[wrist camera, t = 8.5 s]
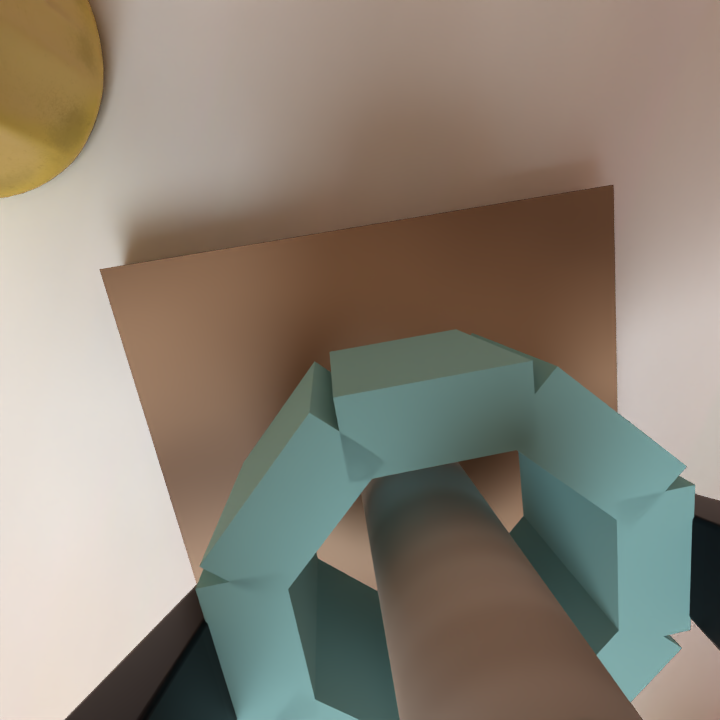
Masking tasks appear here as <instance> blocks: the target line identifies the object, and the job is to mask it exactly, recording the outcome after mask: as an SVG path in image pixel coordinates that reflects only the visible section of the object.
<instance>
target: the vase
mask: <svg viewBox="0 0 720 720" xmlns="http://www.w3.org/2000/svg"><path fill="white" fill-rule="evenodd" d="M102 93H103V57H102V50H101V44H100V38H99V33H98V29H97V25H96V22H95V18H94V15H93V12H92V9H91V6H90V4H89V1H88V0H0V198H4V197H10V196H13V195H17V194H21V193H25V192H27V191H30V190H32V189H35V188H37V187H39V186H41V185H43V184H45V183H46V182H48V181H50V180H51V179H53V178H54V177H56V176H57V175H58V174H60V173H61V172H62V171H63V170H64V169H66V168H67V167H68V166H69V165H70V164H71V163H72V162H73V161H74V160H75V158H76V157H77V156H78V155H79V153H80V152H81V150H82V148H83V147H84V145H85V143H86V141H87V140H88V137H89V135H90V133H91V131H92V129H93V126H94V123H95V121H96V118H97V115H98V111H99V107H100V104H101V98H102Z"/></svg>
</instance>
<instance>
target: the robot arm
mask: <svg viewBox="0 0 720 720" xmlns="http://www.w3.org/2000/svg"><path fill="white" fill-rule="evenodd" d="M196 586H197V585H196ZM196 586H195V587H194V588H193V589H192V590H191V591H190V592H189V593H188V594H187V595H186V596H185V597H184V598H183V599H182V600H181V601H180V602H179V603H178V604H177V605H176V606H175V607H174V608H173V609H172V610H171V611H170V612H169V613H168V614H167V615H166V616H165V617H164V618H163V619H162V620H161V622H160V623H159V624H158V625H157V626H156V627H155V628H154V629H153V630H152V631H151V632H150V633H149V634H148V635H147V636H146V637H145V638H144V639H143V640H142V641H141V642H140V643H139V644H138V645H137V646H136V647H135V648H134V649H133V650H132V651H131V652H130V653H129V654H128V655H127V656H126V657H125V658H124V659H123V660H122V661H121V662H120V663H119V664H118V666H117V667H116V668H115V669H114V670H113V671H112V672H111V673H110V674H109V675H108V676H107V677H106V678H105V679H104V680H103V681H102V682H101V683H100V684H99V685H98V686H97V687H96V688H95V689H94V690H93V691H92V692H91V693H90V694H89V695H88V696H87V697H86V698H85V699H84V700H83V701H82V702H81V703H80V704H79V705H78V706H77V707H76V708H75V710H74V711H73V712H72V713H71V714H70V715H69V716H68V717H67V718H66V719H65V720H237V717H236V713H235V710H234V707H233V704H232V700H231V697H230V694H229V691H228V687H227V684H226V681H225V678H224V675H223V671H222V668H221V665H220V662H219V658H218V655H217V652H216V649H215V645H214V642H213V639H212V636H211V632H210V629H209V626H208V623H207V622H205V619H204V616H203V612H202V609H201V606H200V603H199V599H198V596H197V593H196V590H195V588H196ZM689 616H690V618H691V619H692V620H693V621H694V623H695V624H696V625H697V626H698V627H699V628H700V629H701V630H702V632H703V633H704V634H705V635H706V636H707V637H708V638H709V639H710V640H711V641H712V642H713V643H714V645H715V646H716V647H717V648H718V649H719V650H720V501H719V500H715V499H712V498H708V497H704V496H700V495H697V494H695V504H694V518H693V520H692V545H691V577H690V610H689Z"/></svg>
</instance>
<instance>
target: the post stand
mask: <svg viewBox="0 0 720 720" xmlns="http://www.w3.org/2000/svg"><path fill="white" fill-rule="evenodd" d="M100 272H101V275H102V279H103V282H104V285H105V288H106V292H107V295H108V298H109V301H110V305H111V308H112V311H113V314H114V317H115V321H116V324H117V327H118V330H119V334H120V337H121V340H122V343H123V347H124V350H125V353H126V356H127V360H128V363H129V366H130V369H131V372H132V376H133V379H134V382H135V385H136V389H137V392H138V395H139V398H140V402H141V405H142V408H143V411H144V415H145V418H146V421H147V424H148V427H149V431H150V434H151V437H152V440H153V444H154V447H155V450H156V453H157V457H158V460H159V463H160V466H161V470H162V473H163V476H164V479H165V483H166V486H167V489H168V492H169V495H170V499H171V502H172V505H173V508H174V512H175V515H176V518H177V521H178V525H179V528H180V531H181V534H182V538H183V541H184V544H185V547H186V550H187V554H188V557H189V560H190V563H191V567H192V570H193V573H194V576H195V580H196V583H197V584H198V581H199V579H200V576H201V574H202V571H203V568H201V567H199V566H200V564H201V561H202V559H203V557H204V554H205V552H206V549H207V547H208V545H209V542H210V540H211V538H212V535H213V533H214V531H215V528H216V526H217V524H218V521H219V519H220V517H221V514H222V512H223V510H224V507H225V505H226V503H227V500H228V498H229V495H230V493H231V491H232V488H233V486H234V484H235V481H236V479H237V477H238V474H239V472H240V470H241V467H242V465H243V463H244V461H245V460H246V458H247V457H248V455H249V454H250V452H251V451H252V450H253V448H254V447H255V445H256V444H257V442H258V441H259V440H260V438H261V437H262V435H263V434H264V433H265V431H266V430H267V428H268V427H269V425H270V424H271V423H272V421H273V420H274V418H275V417H276V415H277V414H278V413H279V411H280V410H281V408H282V407H283V405H284V404H285V403H286V401H287V400H288V398H289V397H290V396H291V394H292V393H293V391H294V390H295V388H296V387H297V386H298V384H299V383H300V381H301V380H302V378H303V377H304V376H305V374H306V373H307V371H308V370H309V369H310V367H311V366H312V364H313V363H314V361H315V362H316V363H318V364H319V365H321V366H322V367H324V368H325V369H327V370H328V371H330V372H331V365H330V352H331V351H337V350H343V349H348V348H354V347H359V346H365V345H370V344H376V343H382V342H387V341H393V340H398V339H404V338H410V337H415V336H421V335H426V334H432V333H437V332H443V331H449V330H454V329H457V330H459V331H461V332H464V333H466V334H469V335H471V334H472V333H474V334H476V335H479V336H481V337H484V338H486V339H489V340H492V341H494V342H497V343H499V344H502V345H504V346H507V347H509V348H512V349H515V350H517V351H520V352H522V353H525V354H527V355H530V356H533V357H535V358H538V359H540V360H543V361H545V362H548V363H550V364H553V365H556V366H558V367H559V368H560V369H562V370H563V371H564V372H566V373H567V374H568V375H569V376H571V377H572V378H573V379H575V380H576V381H577V382H578V383H580V384H581V385H582V386H584V387H585V388H586V389H587V390H589V391H590V392H591V393H593V394H594V395H595V396H596V397H598V398H599V399H600V400H602V401H603V402H604V403H606V404H607V405H608V406H609V407H611V408H612V409H613V410H615V411H616V412H617V362H616V304H615V245H614V186H613V185H609V186H603V187H597V188H591V189H585V190H579V191H573V192H567V193H561V194H554V195H548V196H542V197H536V198H530V199H524V200H518V201H512V202H506V203H500V204H494V205H488V206H482V207H476V208H469V209H463V210H457V211H451V212H445V213H439V214H433V215H427V216H421V217H415V218H409V219H403V220H397V221H390V222H384V223H378V224H372V225H366V226H360V227H354V228H348V229H342V230H336V231H330V232H324V233H318V234H312V235H305V236H299V237H293V238H287V239H281V240H275V241H269V242H263V243H257V244H251V245H245V246H239V247H233V248H226V249H220V250H214V251H208V252H202V253H196V254H190V255H184V256H178V257H172V258H166V259H160V260H154V261H147V262H141V263H135V264H129V265H123V266H117V267H111V268H105V269H100ZM522 517H523V503H522V491H521V478H520V465H519V453H518V451H517V450H515V451H510V452H504V453H499V454H494V455H489V456H484V457H479V458H474V459H469V460H464V461H459V462H454V463H449V464H444V465H439V466H434V467H429V468H424V469H419V470H414V471H408V472H403V473H398V474H393V475H388V476H383V477H378V478H373V479H371V481H370V482H369V483H368V485H367V486H366V487H365V489H364V490H363V491H362V493H361V494H360V495H359V497H358V498H357V499H356V500H355V502H354V503H353V504H352V506H351V507H350V508H349V510H348V511H347V512H346V514H345V515H344V516H343V518H342V519H341V520H340V522H339V523H338V524H337V525H336V527H335V528H334V529H333V531H332V532H331V533H330V535H329V536H328V537H327V539H326V540H325V541H324V543H323V544H322V545H321V547H320V548H319V549H318V551H317V557H318V559H320V560H322V561H323V562H325V563H327V564H329V565H331V566H333V567H334V568H336V569H338V570H340V571H342V572H344V573H345V574H347V575H349V576H351V577H353V578H355V579H356V580H358V581H360V582H362V583H364V584H365V585H367V586H369V587H371V588H373V589H375V590H376V591H378V595H379V601H380V607H381V613H382V619H383V624H384V630H385V636H386V642H387V648H388V654H389V660H390V665H391V671H392V677H393V683H394V689H395V695H396V701H397V706H398V712H399V718H400V720H643V719H642V718H641V717H640V715H639V714H638V712H637V711H636V710H635V708H634V707H633V705H632V704H631V703H630V701H629V700H628V698H627V697H626V696H625V694H624V693H623V692H622V690H621V689H620V687H619V686H618V685H617V683H616V682H615V680H614V679H613V678H612V676H611V675H610V673H609V672H608V671H607V669H606V668H605V666H604V665H603V664H602V662H601V661H600V659H599V658H598V657H597V655H596V654H595V652H594V651H593V650H592V648H591V647H590V645H589V644H588V643H587V641H586V640H585V638H584V637H583V636H582V634H581V633H580V631H579V630H578V629H577V627H576V626H575V624H574V623H573V622H572V620H571V619H570V618H569V616H568V615H567V613H566V612H565V611H564V609H563V608H562V606H561V605H560V604H559V602H558V601H557V599H556V598H555V597H554V595H553V594H552V592H551V591H550V590H549V588H548V587H547V585H546V584H545V583H544V581H543V580H542V578H541V577H540V576H539V574H538V573H537V571H536V570H535V569H534V567H533V566H532V564H531V563H530V562H529V560H528V559H527V557H526V556H525V555H524V553H523V552H522V550H521V549H520V548H519V546H518V545H517V544H516V542H515V541H514V539H513V538H512V537H511V535H510V534H509V533H510V531H511V530H512V529H513V528H514V527H515V525H516V524H517V523H518V522H519V521H520V519H521V518H522Z"/></svg>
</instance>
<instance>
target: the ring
mask: <svg viewBox="0 0 720 720" xmlns="http://www.w3.org/2000/svg"><path fill="white" fill-rule="evenodd" d="M330 365H331V372H330V371H328V370H327V369H325V368H324V367H322V366H321V365H319V364H318V363H316V362H315V361H314V363H313V364H312V366H311V367H310V369H309V370H308V371H307V373H306V374H305V376H304V377H303V378H302V380H301V381H300V383H299V384H298V386H297V387H296V388H295V390H294V391H293V393H292V394H291V396H290V397H289V398H288V400H287V401H286V403H285V404H284V405H283V407H282V408H281V410H280V411H279V413H278V414H277V415H276V417H275V418H274V420H273V421H272V423H271V424H270V425H269V427H268V428H267V430H266V431H265V433H264V434H263V435H262V437H261V438H260V440H259V441H258V442H257V444H256V445H255V447H254V448H253V450H252V451H251V452H250V454H249V455H248V457H247V458H246V460H245V461H244V463H243V465H242V467H241V470H240V472H239V474H238V477H237V479H236V481H235V484H234V486H233V488H232V491H231V493H230V495H229V498H228V500H227V503H226V505H225V507H224V510H223V512H222V514H221V517H220V519H219V521H218V524H217V526H216V528H215V531H214V533H213V535H212V538H211V540H210V542H209V545H208V547H207V549H206V552H205V554H204V557H203V559H202V561H201V564H200V566H199V567H201V568H203V571H202V574H201V576H200V579H199V581H198V584H197V586H196V588H195V590H196V593H197V596H198V599H199V603H200V606H201V609H202V612H203V616H204V619H205V622H207V623H208V626H209V629H210V632H211V636H212V639H213V642H214V645H215V649H216V652H217V655H218V658H219V662H220V665H221V668H222V671H223V675H224V678H225V681H226V684H227V687H228V691H229V694H230V697H231V700H232V704H233V707H234V710H235V713H236V717H237V720H400V718H399V712H398V706H397V701H396V695H395V689H394V683H393V677H392V671H391V665H390V660H389V654H388V648H387V642H386V636H385V630H384V624H383V619H382V613H381V607H380V601H379V595H378V591H376V590H375V589H373V588H371V587H369V586H367V585H365V584H364V583H362V582H360V581H358V580H356V579H355V578H353V577H351V576H349V575H347V574H345V573H344V572H342V571H340V570H338V569H336V568H334V567H333V566H331V565H329V564H327V563H325V562H323V561H322V560H320V559H318V557H317V551H318V549H319V548H320V547H321V545H322V544H323V543H324V541H325V540H326V539H327V537H328V536H329V535H330V533H331V532H332V531H333V529H334V528H335V527H336V525H337V524H338V523H339V522H340V520H341V519H342V518H343V516H344V515H345V514H346V512H347V511H348V510H349V508H350V507H351V506H352V504H353V503H354V502H355V500H356V499H357V498H358V497H359V495H360V494H361V493H362V491H363V490H364V489H365V487H366V486H367V485H368V483H369V482H370V481H371V479H373V478H378V477H383V476H388V475H393V474H398V473H403V472H408V471H414V470H419V469H424V468H429V467H434V466H439V465H444V464H449V463H454V462H459V461H464V460H469V459H474V458H479V457H484V456H489V455H494V454H499V453H504V452H510V451H515V450H517V451H518V453H519V465H520V478H521V491H522V503H523V517H522V518H521V519H520V521H519V522H518V523H517V524H516V525H515V527H514V528H513V529H512V530H511V531H510V533H509V534H510V535H511V537H512V538H513V539H514V541H515V542H516V544H517V545H518V546H519V548H520V549H521V550H522V552H523V553H524V555H525V556H526V557H527V559H528V560H529V562H530V563H531V564H532V566H533V567H534V569H535V570H536V571H537V573H538V574H539V576H540V577H541V578H542V580H543V581H544V583H545V584H546V585H547V587H548V588H549V590H550V591H551V592H552V594H553V595H554V597H555V598H556V599H557V601H558V602H559V604H560V605H561V606H562V608H563V609H564V611H565V612H566V613H567V615H568V616H569V618H570V619H571V620H572V622H573V623H574V624H575V626H576V627H577V629H578V630H579V631H580V633H581V634H582V636H583V637H584V638H585V640H586V641H587V643H588V644H589V645H590V647H591V648H592V650H593V651H594V652H595V654H596V655H597V657H598V658H599V659H600V661H601V662H602V664H603V665H604V666H605V668H606V669H607V671H608V672H609V673H610V675H611V676H612V678H613V679H614V680H615V682H616V683H617V685H618V686H619V687H620V689H621V690H622V692H623V693H624V694H625V696H626V697H627V698H628V700H629V701H630V702H631V701H632V700H633V699H634V698H635V697H636V696H637V695H638V694H639V693H640V692H641V691H642V690H643V689H644V688H645V687H646V686H647V684H648V683H649V682H650V681H651V680H652V679H653V678H654V677H655V676H656V675H657V674H658V673H659V672H660V671H661V670H662V669H663V668H664V667H665V665H666V664H667V663H668V662H669V661H670V660H671V659H672V658H673V657H674V656H675V655H676V654H677V653H678V652H679V651H680V650H681V649H682V648H681V647H680V646H679V644H678V643H677V642H676V641H675V640H674V639H673V638H672V637H671V636H670V635H671V634H675V633H679V632H684V631H688V630H690V627H691V618H690V616H689V610H690V577H691V545H692V520H693V518H694V504H695V485H694V484H692V483H691V482H689V481H687V480H685V479H684V478H682V477H680V476H679V475H680V474H681V473H682V472H683V470H684V469H685V468H686V467H687V466H686V465H684V464H683V463H682V462H680V461H679V460H678V459H677V458H675V457H674V456H673V455H671V454H670V453H669V452H668V451H666V450H665V449H664V448H662V447H661V446H660V445H658V444H657V443H656V442H655V441H653V440H652V439H651V438H649V437H648V436H647V435H646V434H644V433H643V432H642V431H640V430H639V429H638V428H637V427H635V426H634V425H633V424H631V423H630V422H629V421H627V420H626V419H625V418H624V417H622V416H621V415H620V414H618V413H617V412H616V411H615V410H613V409H612V408H611V407H609V406H608V405H607V404H606V403H604V402H603V401H602V400H600V399H599V398H598V397H596V396H595V395H594V394H593V393H591V392H590V391H589V390H587V389H586V388H585V387H584V386H582V385H581V384H580V383H578V382H577V381H576V380H575V379H573V378H572V377H571V376H569V375H568V374H567V373H566V372H564V371H563V370H562V369H560V368H559V367H558V366H556V365H553V364H550V363H548V362H545V361H543V360H540V359H538V358H535V357H533V356H530V355H527V354H525V353H522V352H520V351H517V350H515V349H512V348H509V347H507V346H504V345H502V344H499V343H497V342H494V341H492V340H489V339H486V338H484V337H481V336H479V335H476V334H474V333H472V334H471V335H469V334H466V333H464V332H461V331H459V330H457V329H454V330H449V331H443V332H437V333H432V334H426V335H421V336H415V337H410V338H404V339H398V340H393V341H387V342H382V343H376V344H370V345H365V346H359V347H354V348H348V349H343V350H337V351H331V352H330Z"/></svg>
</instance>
